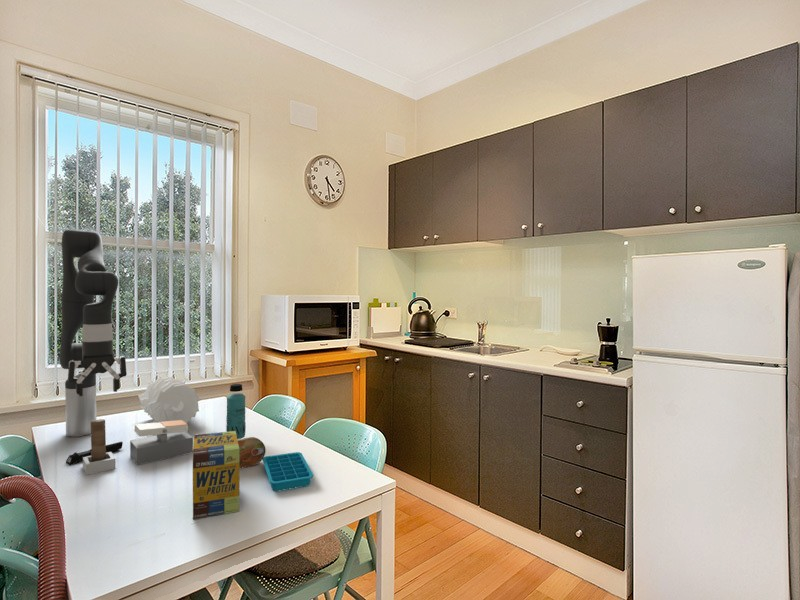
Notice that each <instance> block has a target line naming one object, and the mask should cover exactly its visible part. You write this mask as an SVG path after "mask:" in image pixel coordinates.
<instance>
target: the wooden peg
mask: <svg viewBox="0 0 800 600" xmlns="http://www.w3.org/2000/svg"><path fill="white" fill-rule="evenodd" d="M106 438H107V437H106V419H102V418H101V419H96V420H94V421H91V434H90V449H91V459H92V462H95V461H100V460H105V459H106V445H107V444H106V442H107V441H106V440H107V439H106Z"/></svg>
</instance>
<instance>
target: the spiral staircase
mask: <svg viewBox="0 0 800 600" xmlns="http://www.w3.org/2000/svg"><path fill="white" fill-rule="evenodd" d="M196 391H197V390H196V389H195V388H194V387H193V388H192V387H190V386H188V385H187V384H186V382H185V381H182V380H179V379H176V378H174V376H167V377H164V378H162V376H161V377H160V376H159V377H158V378H157V379H156V380H154V381H153V382H151V383H148V385H147V387H146V389H145V391H144V393H141V394H138V395H137V396H138V398H139V402H140V403H141V405H140V406H139V407H140V409H143V410H144V411H143V412H144V413H146V414H147V416H149V417H150V418H151V419H152V423H159V422H164V421H175V420H182V421H184V422H185V423H186V424H187V425H188V422H190V420H191V419H192V418H196V416H197V412H200V409H199V407H200V406H199V402H200V400H201V398H200V397H199V396H198V395H197V393H196Z"/></svg>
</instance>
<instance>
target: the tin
mask: <svg viewBox="0 0 800 600" xmlns="http://www.w3.org/2000/svg"><path fill="white" fill-rule="evenodd" d="M237 440H238V445H239V468H240V469H243V468H242V467H245V468H249V467H248V466H251V467H254V466H253V465H255V466H257V465H258V464H260V463H261V462H263V457H266V456H265V455H266V446H265V444H264V442H263V441H262V440H261V439H259V438H258V437H255V436H250V437H243V438H241V439H237Z"/></svg>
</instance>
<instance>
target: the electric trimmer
mask: <svg viewBox="0 0 800 600" xmlns="http://www.w3.org/2000/svg"><path fill="white" fill-rule="evenodd" d="M123 444H124V443H123V441H119V442H115V443H110V444H106V453H107V452H112V453H113V452H116V451H120V450H121V449H122V448H123ZM87 456H91V448H90V449H89V450H85V451H81V452H77V451H76V452H74V453H72V454H69V455H68V457H67V458H66V460H65V464H67V465H68V466H71V465H75V464H76V463H79V462H81V461H82V462H83V457H87Z"/></svg>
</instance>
